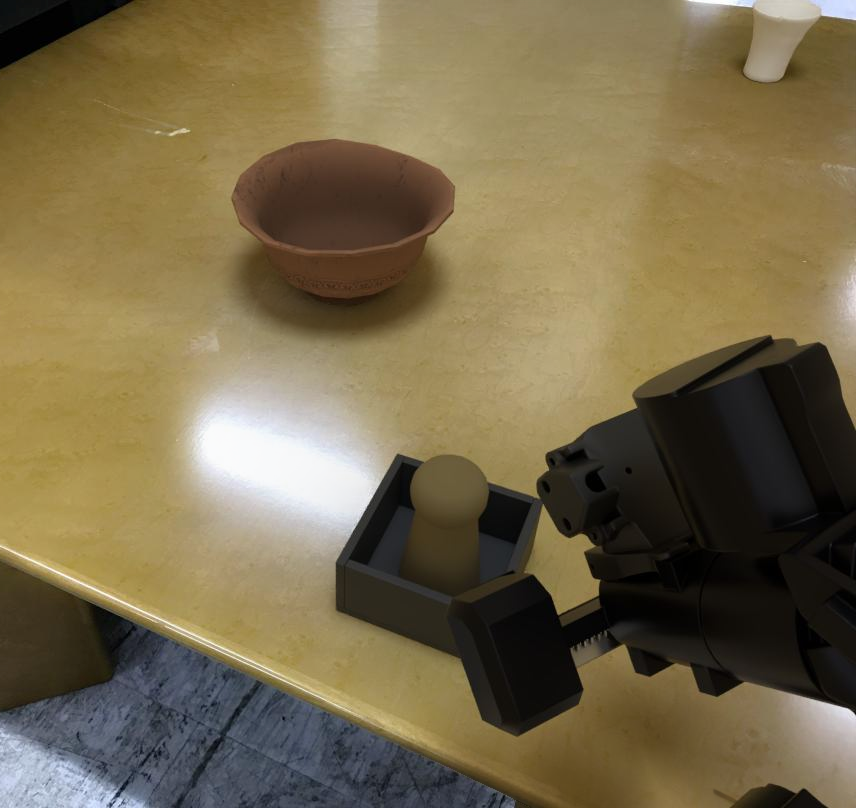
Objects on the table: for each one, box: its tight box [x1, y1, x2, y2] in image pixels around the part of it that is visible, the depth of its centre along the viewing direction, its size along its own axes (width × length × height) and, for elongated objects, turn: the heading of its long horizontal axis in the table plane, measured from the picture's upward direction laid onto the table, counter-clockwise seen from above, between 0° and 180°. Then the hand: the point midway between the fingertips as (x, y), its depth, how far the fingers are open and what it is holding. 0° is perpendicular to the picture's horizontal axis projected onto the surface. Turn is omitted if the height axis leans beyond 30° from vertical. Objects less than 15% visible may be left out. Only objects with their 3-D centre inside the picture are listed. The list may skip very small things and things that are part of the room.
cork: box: [398, 454, 489, 597], centre depth 62 cm, size 6×6×11 cm
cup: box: [742, 0, 823, 84], centre depth 127 cm, size 9×9×10 cm
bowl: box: [230, 138, 456, 307], centre depth 91 cm, size 22×22×11 cm
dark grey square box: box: [335, 453, 544, 659], centre depth 65 cm, size 11×11×6 cm
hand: (543, 575), depth 50 cm, fingers open, 9 cm apart
